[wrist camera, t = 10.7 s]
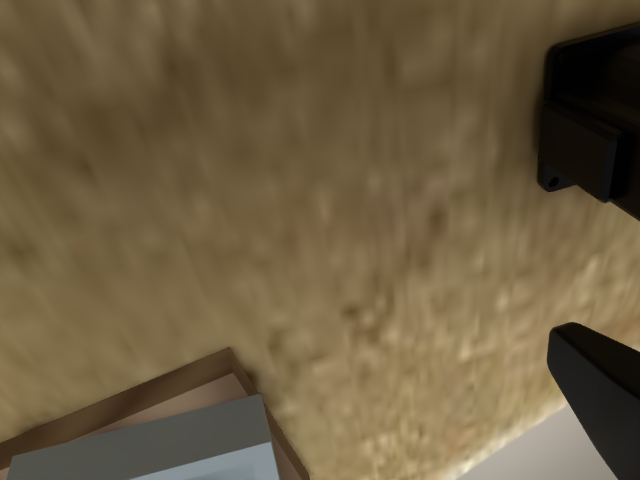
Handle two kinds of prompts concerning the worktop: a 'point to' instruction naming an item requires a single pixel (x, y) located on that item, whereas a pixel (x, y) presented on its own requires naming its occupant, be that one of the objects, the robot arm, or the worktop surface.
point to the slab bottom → (159, 410)
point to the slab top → (165, 449)
